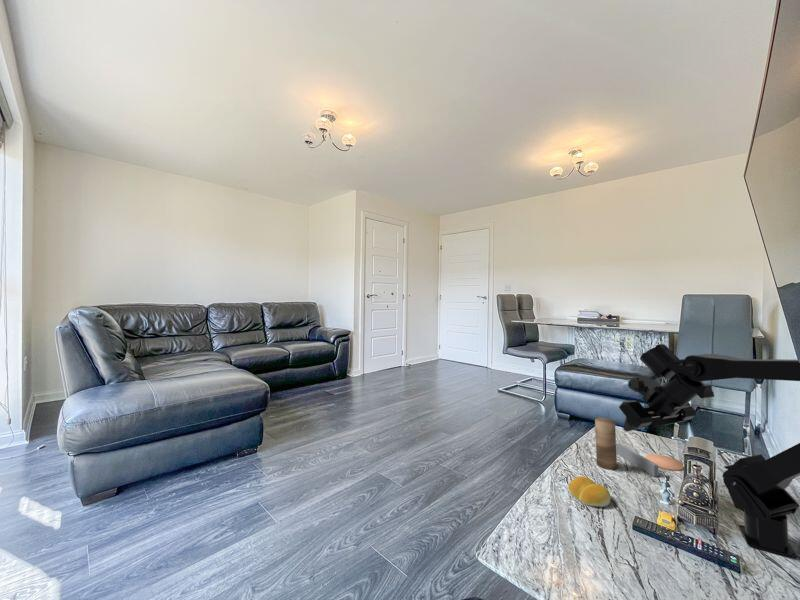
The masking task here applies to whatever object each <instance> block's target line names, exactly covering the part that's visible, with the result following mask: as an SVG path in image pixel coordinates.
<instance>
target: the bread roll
mask: <svg viewBox="0 0 800 600" xmlns="http://www.w3.org/2000/svg"><path fill="white" fill-rule="evenodd" d="M567 488H568V491H569V492H570V494H571V496H572V497H574V498H575V499H576V500H579V501H580V502H581V503H583V504H584V505H586V506H589V507H595V508H596V507H597V508H604V507H608V506H609V504H610V503H611V500H612V499H611V498H612V497H611V494H610V492H609V490H608V489H607V488H606V487H605V486H603V485H601V484H597V483H596V482H595V481H594V480H593V479H591V478H589V477H586V476H577V477H575V478H573V479H572V480H570V481H569V482H568V486H567Z"/></svg>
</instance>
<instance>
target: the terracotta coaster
mask: <svg viewBox="0 0 800 600" xmlns="http://www.w3.org/2000/svg"><path fill="white" fill-rule="evenodd" d="M644 458H646V459H648V460H650V461H651V462H653V463H655V464H657V465H658V469H663V470H666V471H667V470H668V471H676V472H677V471H682V470H684V469H683V464H684V462H682V461H681V460H679V459H676V458H674V457H670V456H667V455H663V454H662V455H661V454H647V455H646V456H644Z"/></svg>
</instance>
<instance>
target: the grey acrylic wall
mask: <svg viewBox="0 0 800 600" xmlns="http://www.w3.org/2000/svg"><path fill="white" fill-rule="evenodd" d="M616 455H617V456H619V457H622V458H623V459H625V460H626V461H628V462H629V463H631V464H633V465H634V466H636V467H638V468H639V469H641V470H643V471H644V472H646V473H648V474H649V475H651V476H653V477H654V478H655V477H657V478H658V477H659V467H658V465H657V464H655V463H653V462H651V461H650V460H648V459H646V458H645V456H643V455H641V454H640V453H637V452H636V451H633V450H632V449H630V448H628V447H626V446H625V445H623V444H621V443H616Z"/></svg>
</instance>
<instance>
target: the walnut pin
mask: <svg viewBox="0 0 800 600" xmlns="http://www.w3.org/2000/svg"><path fill="white" fill-rule="evenodd" d="M594 427H595V428H594V429H595V452H596V454H595V456H596V457H595V458H596V459H595V460H596V465H597V466H598V467H599V468H601V469H604V470H608V471H609V470H610V471H613V470H617V468H618V463H617V461H618V460H617V459H618V458H617V454H616V444H617V438H616V434H617V433H616V421H615V420H614V419H611V418H609V417H608V418H607V417H595V419H594Z"/></svg>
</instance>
